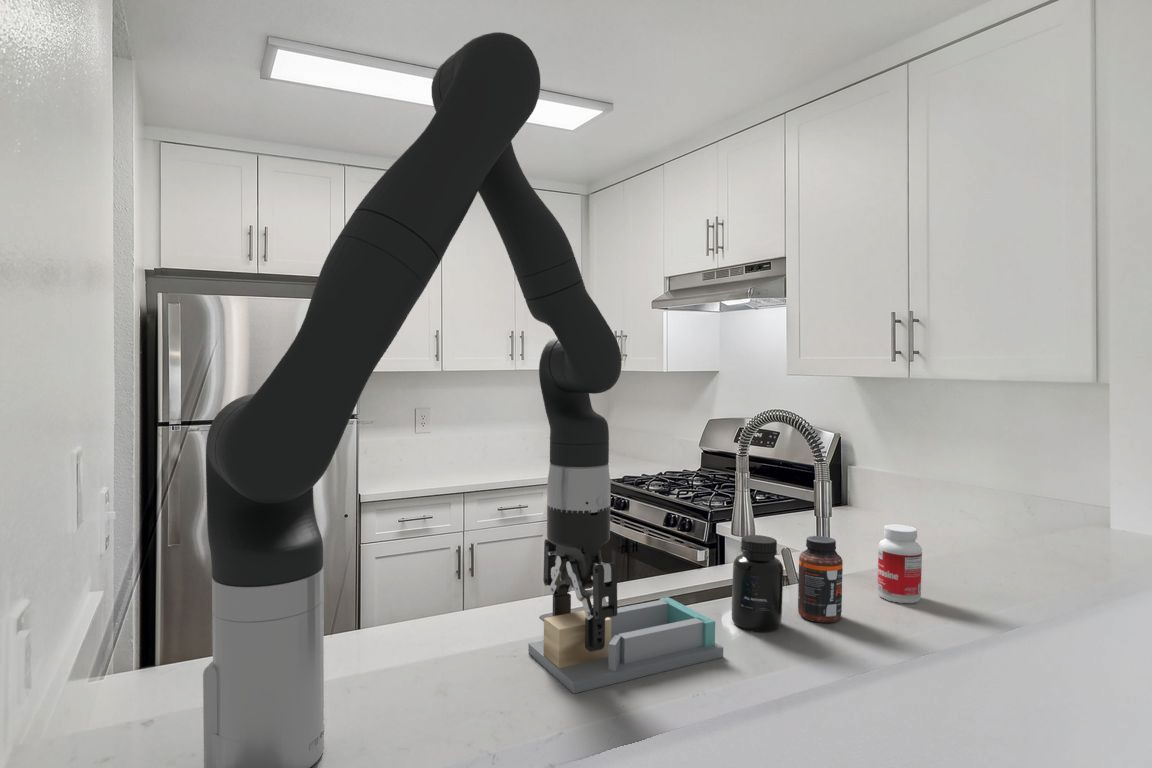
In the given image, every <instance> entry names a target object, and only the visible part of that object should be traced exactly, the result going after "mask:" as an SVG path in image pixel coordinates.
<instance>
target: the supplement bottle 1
mask: <svg viewBox="0 0 1152 768" xmlns="http://www.w3.org/2000/svg"><path fill="white" fill-rule="evenodd" d="M740 541H741V543H740V545H741V546H740V552H741V554H739V555H738V556H736V557H735V558H734V560H733V564H732V589H731V590H732V591H731V593H732V594H731V620H732V623H734V625H736V626H737V627H738V628H740V629H743V630H746V631H751V632H757V633H758V632H759V633H767V632H769V633H770V632H773V631H776V630H778V629H780V627H781V625H782V619H783V618H782V617H783V593H784V592H783V591H784V590H783V589H784V565H783V563H782V561H781V560H779V559H778V558H777V557H776V555H777V554H778V550H777V547H778V546H777V545H778V544H777V543H778V541H777V539H776V538H774V537H771V536H766V535H760V534H749V535H743V536H742V537H741V540H740Z"/></svg>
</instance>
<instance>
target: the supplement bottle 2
mask: <svg viewBox="0 0 1152 768" xmlns="http://www.w3.org/2000/svg"><path fill="white" fill-rule="evenodd" d="M805 541H806V544H805V546H806V550H803V551H802V552H801V553H800V554H799V556H798V557H799V558H798V579H797V580H798V583H797V584H798V586H797V587H798V589H797V592H798V593H797V594H798V595H797V612H798V615H800V616H801V617H802V618H804V619H805V620H808V621H811V622H816V623H824V624H825V623H826V624H827V623H828V624H831V623H836V622H838V621H840V619H841V618H842V609H843V607H842V606H843V605H842V603H843V565H844V563H843V559H842V558H843V557H841V556H840V554H838V552H837V551H836V549H837V543H836V542H837V541H836V539H835V538H833V537H828V536H822V535H811V536H808V537H806V540H805Z"/></svg>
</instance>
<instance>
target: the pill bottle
mask: <svg viewBox="0 0 1152 768" xmlns="http://www.w3.org/2000/svg"><path fill="white" fill-rule="evenodd" d="M883 534H884V537H885V538H884V539H881V540H880V542H878V552H877V553H878V554H877V584H876V585H877V586H876V587H877V588H876V589H877V595H878V596H879V597H880V598H882V599H883V598H884V600H885V599H886V601H888V600H889V601H888V602H891V601H893V602H892V603H895V602H899V603H898V604H903V603H911V604H916V603H918V602H919V601H920V600H921V597H922V567H923V566H922V565H923V564H922V563H923V562H922V561H923V560H922V559H923V548H922V547H921V544H919V543H918V542H916V540H917V539H918V529H917V528H916V527H913V526H911V525H906V524H905V525H904V524H899V523H894V524H893V523H892V524H885V525H884V526H883ZM915 602H916V603H915Z"/></svg>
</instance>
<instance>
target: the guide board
mask: <svg viewBox="0 0 1152 768" xmlns="http://www.w3.org/2000/svg"><path fill="white" fill-rule="evenodd" d="M609 618H610V619H611V641H610V643H609V657H606V658H601V659H597V660H593V661H588V662H584V663H580V664H575V665H571V666H567V667H562V668H558V667H557V666H556V665H555V664H553V663H552V662H551V661H550V660H549V659H547V658H546V657H545V656H544V639H543V640H540V641H533V642H529V643H528V652H529V653H530V654H531V655H532V656H533V657H532V656H531V655H530V654H529V653H528V654H529V655H530V656H531V657H532V658H533V659H535V660H536V661H537V663H539V664H540V665H541V666H542V667H543V668H544V669H546V670H547V671H548V672H549V673H551V675H552V676H553V677H554V678H556V679H557V680H558V681H559V682H560V683H561V684H562V685H563V686H564V687H566V689H568V690H569V691H570V692H571V693H572V694H577V693H581V692H586V691H590V690H593V689H594V690H595V689H598V688H602V687H606V686H610V685H613V684H619V683H622V682H626V681H631V680H635V679H638V678H642V677H647V676H652V675H654V674H659V673H663V672H666V671H671V670H675V669H679V668H683V667H687V666H691V665H695V664H700V663H704V662H707V661H711V660H712V661H713V660H715V659H720V658H724V646H722V645H720V644H719V643H716V621H715V620H713V619H711V618H710V617H707V616H706V615H704V614H702V613H700V612H699V611H696V610H694V609H692V608H690V607H688V606H686V605H684V604H683V603H680V602H678V601H677V600H675V599H672V598H670V597H669V596H666V597H662V598H658V600H653V601H649V602H642V603H637V604H631V605H626V606H620V607H617V615H616V616H613V617H609Z"/></svg>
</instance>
